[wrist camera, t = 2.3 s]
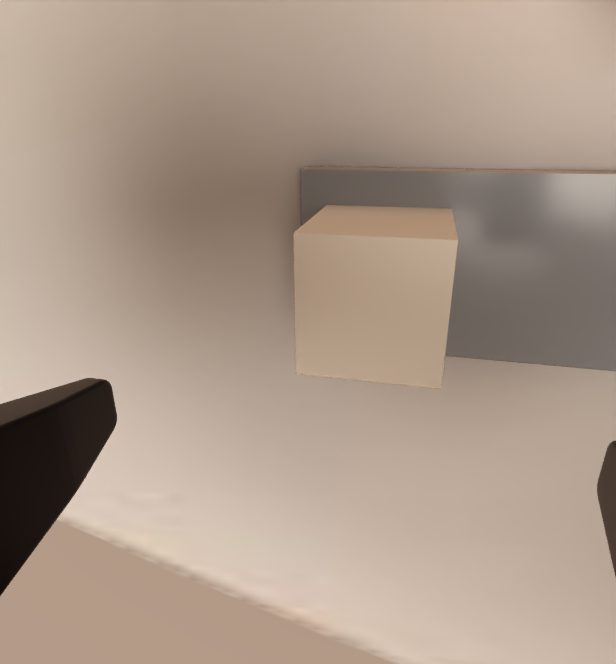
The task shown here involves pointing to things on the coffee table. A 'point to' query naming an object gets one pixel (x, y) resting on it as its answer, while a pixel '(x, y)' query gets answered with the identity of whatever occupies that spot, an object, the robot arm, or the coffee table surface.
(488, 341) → the slate board
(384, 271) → the block
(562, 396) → the coffee table surface
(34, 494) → the robot arm
